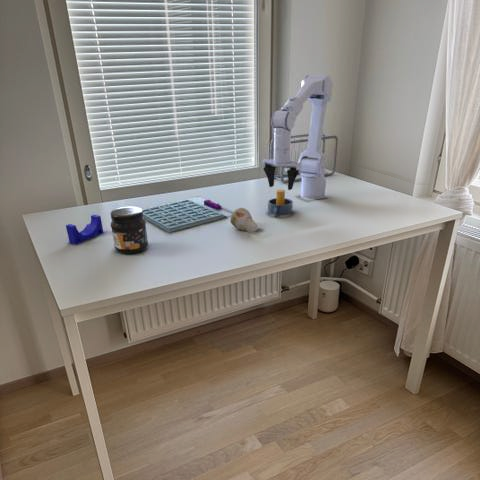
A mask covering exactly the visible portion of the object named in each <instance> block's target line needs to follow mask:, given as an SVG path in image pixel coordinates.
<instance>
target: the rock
mask: <svg viewBox="0 0 480 480" xmlns="http://www.w3.org/2000/svg"><path fill="white" fill-rule="evenodd" d="M230 224H231V225H232V226H233V227H234V228H235V229H238V230H243V231H246V232H247V233H248V234H252V233H254V232H257V231H258V230H260V228H259V225H258V223H257V222H255V220H254V219H253V217H252V214H251V212H250V211H249V209H247V208H244V207H239V208H237V209H235V210H234V211H233V212H232V214H231V215H230Z"/></svg>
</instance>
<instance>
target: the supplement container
mask: <svg viewBox="0 0 480 480" xmlns="http://www.w3.org/2000/svg"><path fill="white" fill-rule="evenodd" d="M142 209H143V208H141V207H137V206H124V207H123V206H121V207H118V208H115V209H113V210H111V211H110V219H111V222H110V228H111V233H112V238H113V246H114V249H115V251H116V252H118V253H120V254H125V255H132V254H138V253H141V252H144V251H145V250H146V249H148V247H149V239H148V232H147V226H146V225H147V222H146V221H147V220H146V219H145V218H143V211H142Z"/></svg>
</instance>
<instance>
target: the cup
mask: <svg viewBox="0 0 480 480" xmlns="http://www.w3.org/2000/svg"><path fill="white" fill-rule="evenodd" d="M293 209H294V201H293V200H292V199H290V198H286V197H285V202H284V205H276V198H271V199H269V200H267V213H269V214H271V215H274V218H278V216H287V215H290V214H292V213H293V211H294V210H293Z"/></svg>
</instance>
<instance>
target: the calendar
mask: <svg viewBox="0 0 480 480" xmlns="http://www.w3.org/2000/svg"><path fill="white" fill-rule="evenodd" d="M141 209H142V211H143V218H144V219H145V220H146V221H148V222H151V223H152V224H153V225H156V226H157V227H159V228H161V229H163V230H165V231H166V232H168V233H173V232H176V231H180V230H183V229H187V228H191V227H194V226H198V225H203V224H207V223H210V222H215V221H217V220H222V219H225V218H227V216H226V215H225V214H223V213H222V212H220V211H219V210H222V205H221V204H220V203H216V202H214V201H212V200H210V199H205V198H202V197H200V196H196V197H190V198H184V200H180V199H178V200H176V201H173V202H171V201H170V202H168V203H164V204H162V203H161V204H159V205H158V206H157V205H156V206H148V207H147V208H141Z"/></svg>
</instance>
